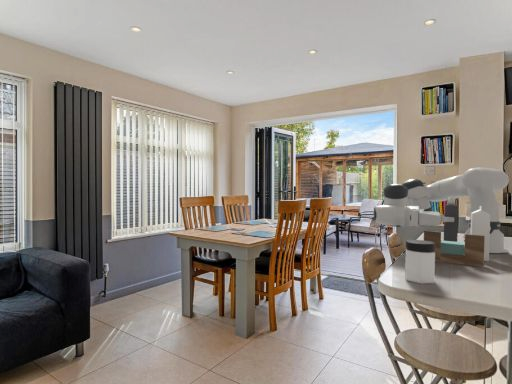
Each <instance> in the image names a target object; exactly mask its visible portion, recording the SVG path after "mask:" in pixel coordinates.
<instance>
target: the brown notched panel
mask: <svg viewBox="0 0 512 384" xmlns="http://www.w3.org/2000/svg"><path fill="white" fill-rule="evenodd" d="M484 238H485V236H484V235H474V234H465V242H464V243H465V249H464V256H462V255H452V254H443V253H441V240H442V232H441V231H434V230H433V231H432V230H431V231H430V230H424V231H423V240H424V241H430V242H434V243H435V251H434V252H435V262H440V263H449V264H457V265H466V266H467V265H468V266H476V267H484V266H485V265H484V264H485V263H484V262H485V261H484Z"/></svg>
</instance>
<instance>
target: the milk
mask: <svg viewBox="0 0 512 384" xmlns="http://www.w3.org/2000/svg"><path fill="white" fill-rule="evenodd" d="M470 217H471V234H474V235H484V236H485V238H484V262H489V261H490V253H489V238H490V214H488V213H486V212H484V211H482V206H480V209H479V210H477V211H474V212H472V213H471V212H470Z"/></svg>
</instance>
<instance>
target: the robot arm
mask: <svg viewBox="0 0 512 384" xmlns="http://www.w3.org/2000/svg"><path fill="white" fill-rule="evenodd" d="M509 182H510V178H509V176H508V174H507V173H506V172H505V171H503V170H501V169H498V168H493V167H492V168H491V167H479V166H478V167H474V168H469V169H468V170H466V171H465V172H464V173H463V174H459V175H455V176H451V177H448V178H444V179H440V180H438V181H435V182H433V183H430V184H428V185H426V182H425V181H424V182H423V181H422V180H421V179H418V178H411V179H407V180H405V181H404V182H403V183H391V184H388V185H386V186H385V188H383V205H382V204H381V205H375V206H374V207H373V222H374V223H376V224H378V225H385V226H388V227H395V228H396V227H397V228H401V227H405V228H418V229H419V227H420V226H439V225H440V226H441V223H444V222H454V217H444V214H441V213H440V212H439V211H433V208H432V205H431V203H430V202H433V203H434V202H437V203H438V202H444V201H445V202H446V201H448V197H455V200H456V199H459V198H465V197H468V198H469V202H470V214H471V213H472V212H474V211H477V210H479V209H480V206H482V211H484V212H486V213H488V214H490V238H489V254H501V253H502V254H509V252H510V250H508V249H506V248H505V234H504V233H503V232H502V231H500V229H501V222H500V203H499V202H498V200H497V198H496V195H495V192H498V191H501V190H503V189H505V188H506V187H507V186H508V184H509ZM468 227H469V228H468V229H466V231H465V233H464V234H463V243H464V249H465V234H471V216H470V219H469V221H468Z"/></svg>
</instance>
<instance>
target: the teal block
mask: <svg viewBox="0 0 512 384" xmlns="http://www.w3.org/2000/svg"><path fill="white" fill-rule="evenodd" d="M464 243H465V242H464V241H457V242H453V241H444V239H443V240H442V239H441V253H443V254H452V255H462V256H464Z"/></svg>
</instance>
